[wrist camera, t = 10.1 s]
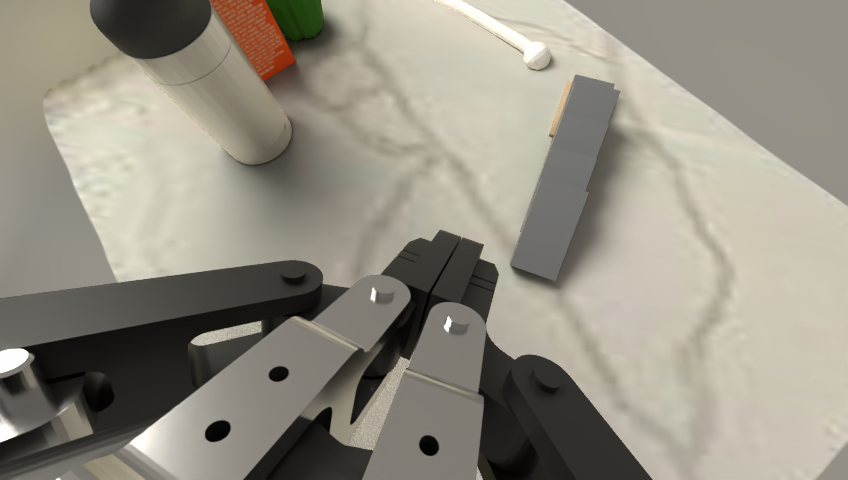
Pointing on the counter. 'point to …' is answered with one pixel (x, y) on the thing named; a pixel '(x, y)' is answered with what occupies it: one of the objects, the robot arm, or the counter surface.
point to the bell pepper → (297, 17)
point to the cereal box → (256, 34)
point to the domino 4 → (548, 228)
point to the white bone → (503, 33)
